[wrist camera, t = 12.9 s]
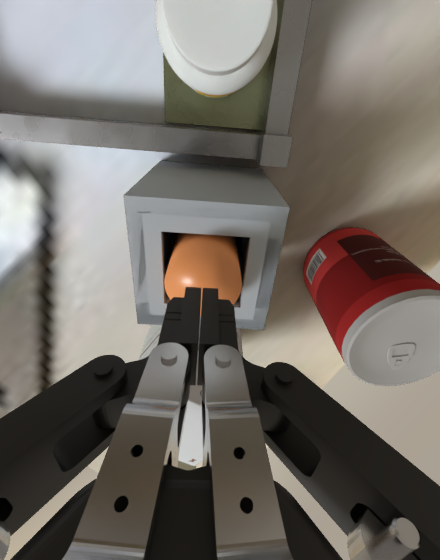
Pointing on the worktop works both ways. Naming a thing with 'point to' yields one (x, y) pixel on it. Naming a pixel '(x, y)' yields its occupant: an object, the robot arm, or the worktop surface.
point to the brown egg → (204, 266)
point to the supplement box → (193, 422)
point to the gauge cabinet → (205, 231)
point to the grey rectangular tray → (198, 110)
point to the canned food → (375, 307)
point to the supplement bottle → (216, 41)
